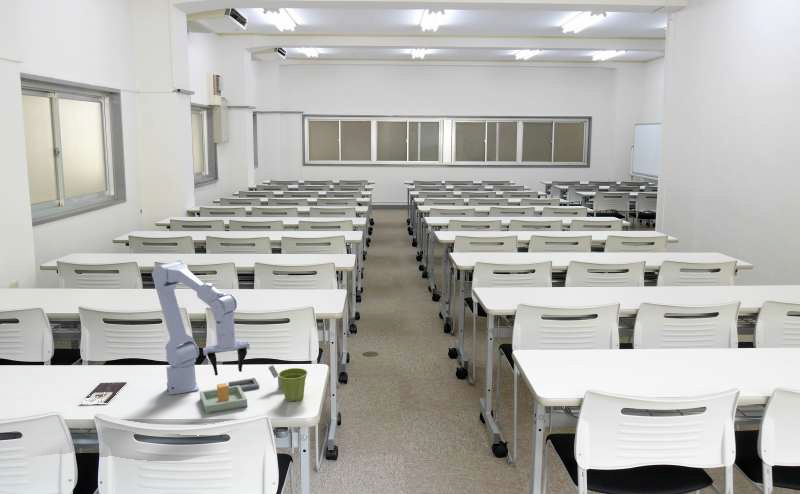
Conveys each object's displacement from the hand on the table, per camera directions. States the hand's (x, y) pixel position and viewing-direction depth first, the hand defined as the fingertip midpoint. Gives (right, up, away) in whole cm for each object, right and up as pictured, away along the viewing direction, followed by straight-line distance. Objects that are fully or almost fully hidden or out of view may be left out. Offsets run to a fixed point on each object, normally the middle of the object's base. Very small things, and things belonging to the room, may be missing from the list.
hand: (228, 372), depth 224 cm
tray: (-1, -10, 0) cm, 10 cm away
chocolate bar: (-44, -9, +9) cm, 46 cm away
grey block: (+15, -7, +12) cm, 21 cm away
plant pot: (+21, -9, +3) cm, 23 cm away
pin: (-1, -9, 0) cm, 9 cm away
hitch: (+2, -7, +13) cm, 15 cm away
